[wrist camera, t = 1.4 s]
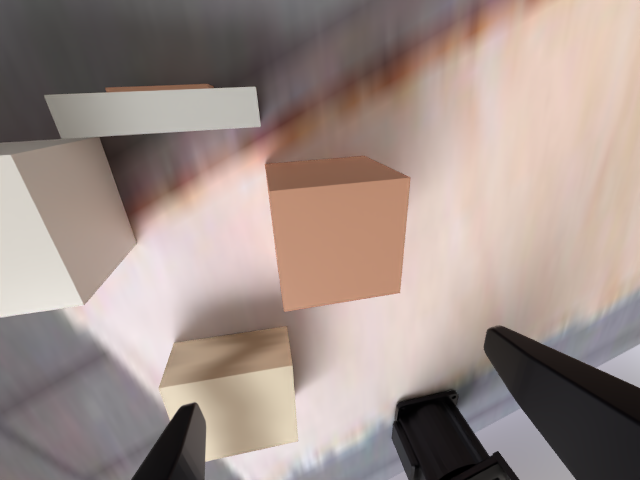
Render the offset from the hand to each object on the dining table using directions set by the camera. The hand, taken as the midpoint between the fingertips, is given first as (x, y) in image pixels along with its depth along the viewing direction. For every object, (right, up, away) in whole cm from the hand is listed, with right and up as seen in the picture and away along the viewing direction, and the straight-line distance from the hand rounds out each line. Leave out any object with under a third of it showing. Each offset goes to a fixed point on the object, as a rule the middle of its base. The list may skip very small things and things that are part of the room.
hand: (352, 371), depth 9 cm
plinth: (-8, +11, +6) cm, 15 cm away
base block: (-7, -6, +15) cm, 18 cm away
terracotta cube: (-1, +6, +10) cm, 12 cm away
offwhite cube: (-15, +6, +7) cm, 17 cm away
